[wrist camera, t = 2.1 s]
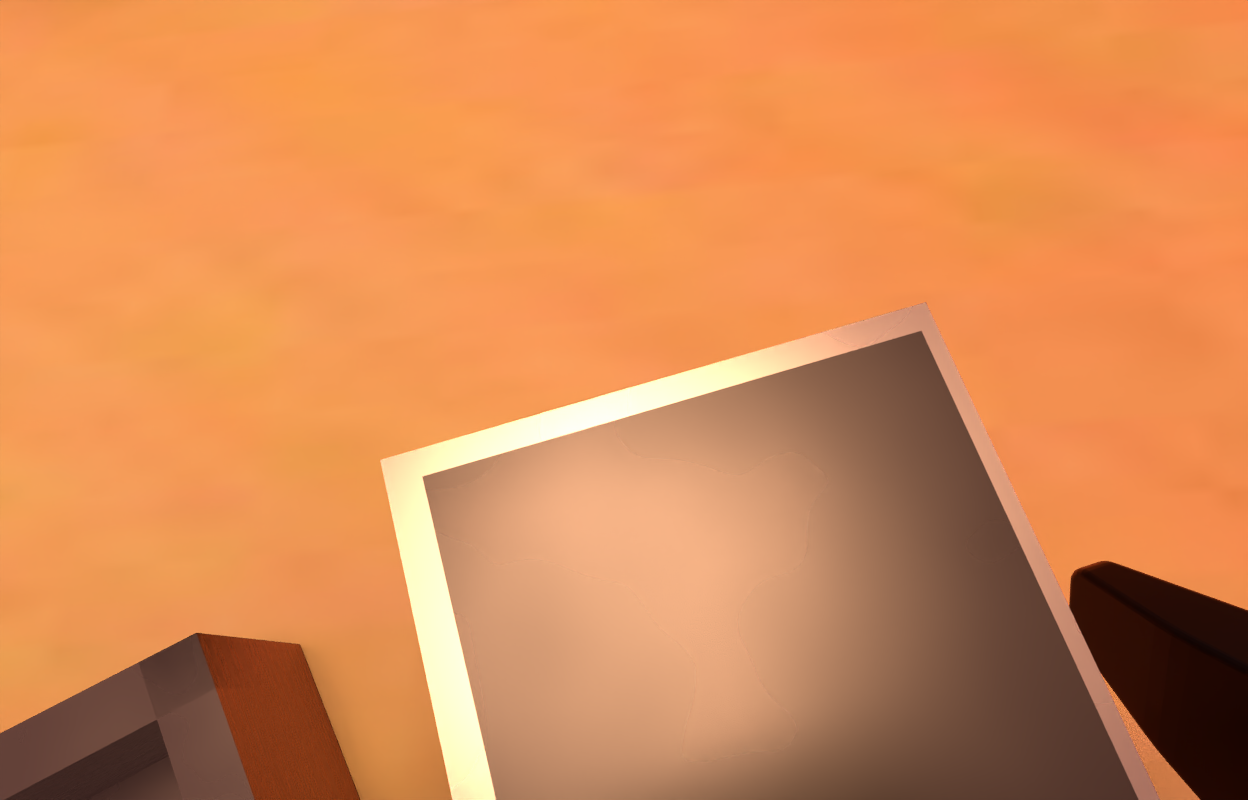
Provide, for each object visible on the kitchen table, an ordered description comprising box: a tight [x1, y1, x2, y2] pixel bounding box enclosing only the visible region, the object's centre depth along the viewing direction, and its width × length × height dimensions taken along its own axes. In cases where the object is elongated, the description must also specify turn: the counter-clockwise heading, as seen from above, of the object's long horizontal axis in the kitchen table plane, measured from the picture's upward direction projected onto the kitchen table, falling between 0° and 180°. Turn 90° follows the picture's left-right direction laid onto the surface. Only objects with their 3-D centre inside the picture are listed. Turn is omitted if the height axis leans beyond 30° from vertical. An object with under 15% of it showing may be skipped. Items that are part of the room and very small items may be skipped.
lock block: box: [380, 302, 1160, 800], centre depth 12 cm, size 5×5×12 cm
